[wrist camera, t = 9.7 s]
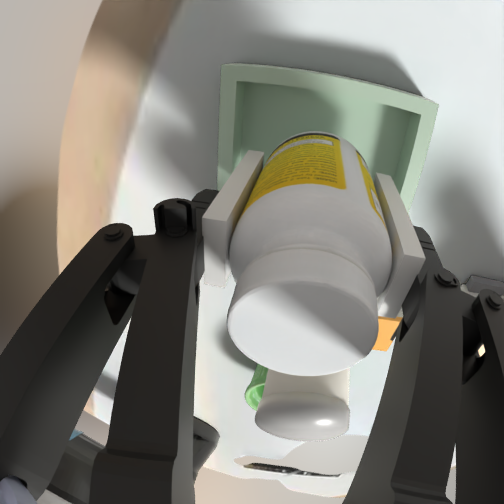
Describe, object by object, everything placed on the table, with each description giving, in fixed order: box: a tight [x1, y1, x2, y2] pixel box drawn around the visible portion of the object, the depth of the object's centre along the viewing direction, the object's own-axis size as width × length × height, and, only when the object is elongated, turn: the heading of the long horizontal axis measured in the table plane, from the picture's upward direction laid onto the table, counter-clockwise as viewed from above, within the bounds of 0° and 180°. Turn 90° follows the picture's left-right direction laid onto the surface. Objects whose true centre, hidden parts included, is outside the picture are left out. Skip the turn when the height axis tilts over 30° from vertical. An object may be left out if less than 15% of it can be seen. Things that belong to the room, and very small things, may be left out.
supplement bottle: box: [227, 131, 392, 376], centre depth 11 cm, size 5×5×10 cm
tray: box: [217, 63, 439, 213], centre depth 16 cm, size 11×11×2 cm
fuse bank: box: [255, 275, 504, 441], centre depth 17 cm, size 27×5×12 cm, turn 87°
